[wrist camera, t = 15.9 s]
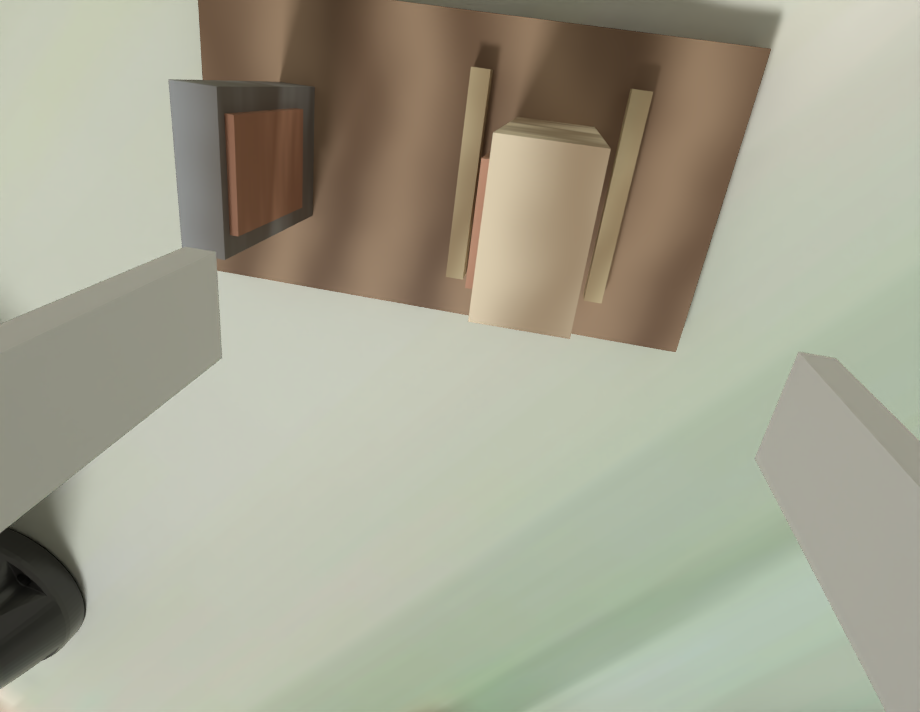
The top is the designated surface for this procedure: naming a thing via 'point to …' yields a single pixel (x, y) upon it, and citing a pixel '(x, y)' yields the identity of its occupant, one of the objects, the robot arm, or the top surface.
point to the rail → (449, 148)
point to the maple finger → (534, 224)
